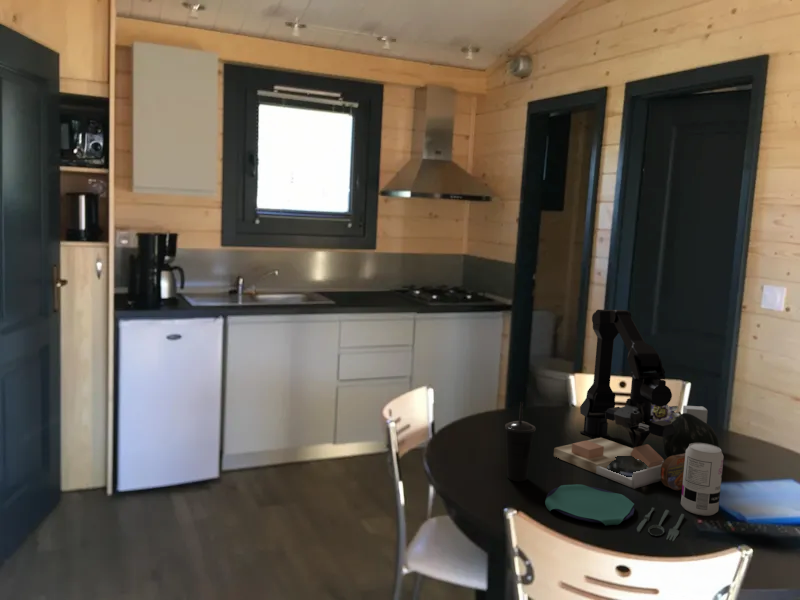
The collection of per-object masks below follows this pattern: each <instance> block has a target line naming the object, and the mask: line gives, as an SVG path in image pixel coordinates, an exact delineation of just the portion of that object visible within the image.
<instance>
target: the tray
mask: <svg viewBox="0 0 800 600" xmlns="http://www.w3.org/2000/svg"><path fill="white" fill-rule="evenodd" d="M664 461H665V460H663V462H664ZM663 462H662V463H661V465H658V466H654V467H650V468H647V469H643V470H640V471H636V472H633V475H632V477H626V476H624V475H621V474H619V473H616V472H613V471H611V470H608V469H606V468H603V467H601V466H597V467H596V473H595V474H596V475H598V476H601V477H604V478H606V479H609V480H611V481H614V482H616V483H619V484H622V485H624V486H626V487H628V488H632V489H633V490H634V489H638V488H640V487H641V488H642V487H644V486H647V485H651V484H655V483H658V482H662V481H661V475H660V473H661V466H662V464H663Z"/></svg>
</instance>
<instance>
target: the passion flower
mask: <svg viewBox="0 0 800 600" xmlns="http://www.w3.org/2000/svg"><path fill="white" fill-rule="evenodd" d="M678 409H679V406H678V405H672V406H669V404H667V405H665V406H662V407H659V406H656V405H652V407H651V415H654V417H653V419H651V420H650V421H652V422H656V421H661V420H662V421H666V422H669V423H672V422H673V421H674V420H676V419H677V418H678V417H679V416H680V415H681V414H682V413H681V411H677V410H678Z"/></svg>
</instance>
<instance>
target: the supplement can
mask: <svg viewBox="0 0 800 600" xmlns="http://www.w3.org/2000/svg"><path fill="white" fill-rule="evenodd" d="M724 458H725V457H724V454H723V451H722V449H721V448H720V447H717V446H714V445H710V444H705V443H691V444H689V447H688V448H687V449H686V453H685V464H684V474H683V485H682V489H681V496H680V497H681V499H680V505H681V506H682V508H683V509H684V511H685V510H686V511H687V512H689V513H692V514H694V515H697V516H698V515H699V516H713V515H714V516H715V514H716V513H718V512H719V508H720V500H721V499H720V496H721V487H722V477H723V469H724V468H723V467H724Z"/></svg>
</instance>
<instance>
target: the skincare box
mask: <svg viewBox="0 0 800 600" xmlns="http://www.w3.org/2000/svg"><path fill="white" fill-rule="evenodd" d="M682 408H683V409H682V414H683V413H689V414H691V415H694V416H696V417H697V418H699V419H701V420H702V421H704V422H705V423H707V422H708V409H707V408H706V407H704V406H701V405H700V406H696V405H683V407H682ZM707 424H708V423H707Z"/></svg>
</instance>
